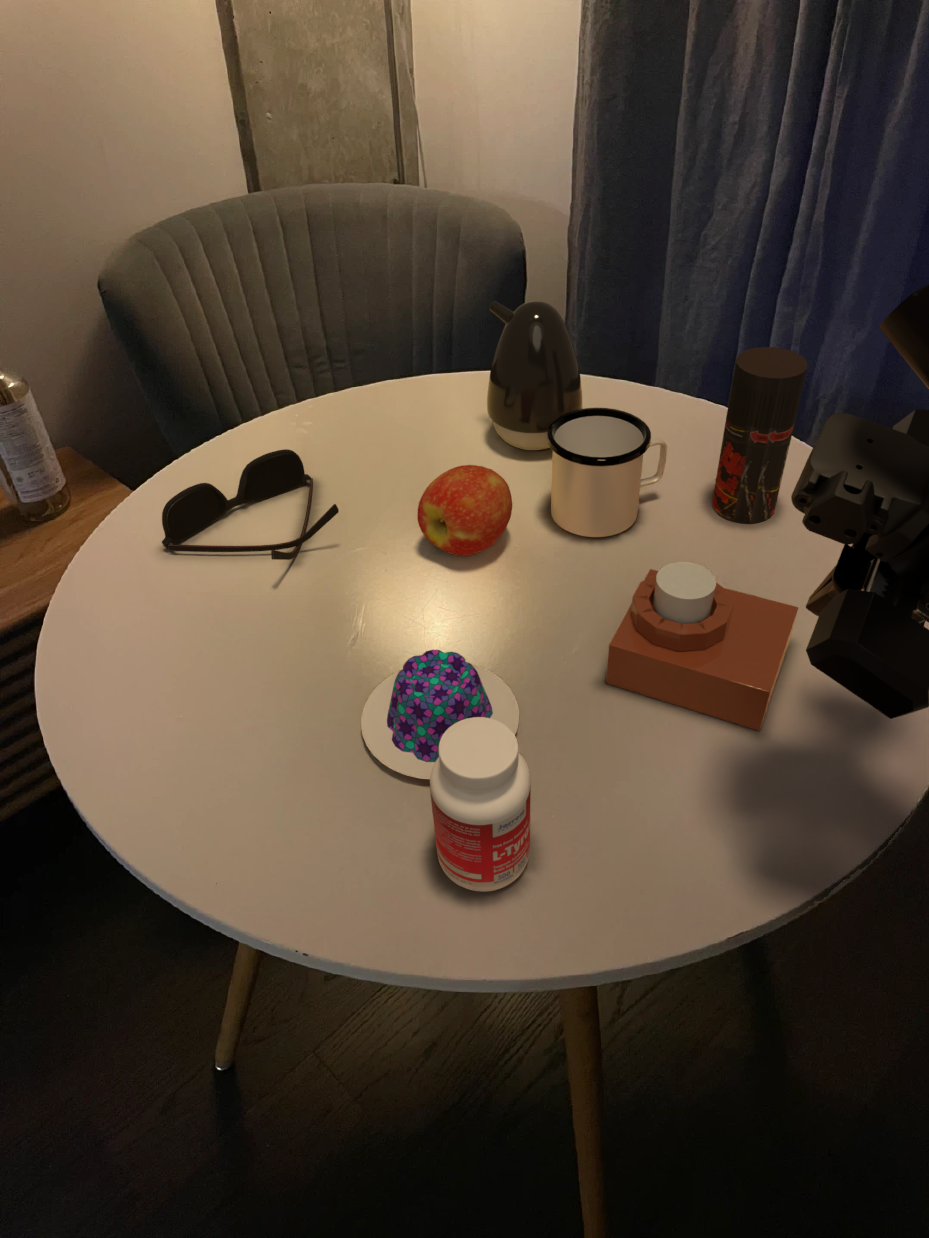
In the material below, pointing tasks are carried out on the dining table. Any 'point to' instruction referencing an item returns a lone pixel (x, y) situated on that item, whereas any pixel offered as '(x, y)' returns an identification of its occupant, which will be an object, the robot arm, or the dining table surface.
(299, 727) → the dining table surface
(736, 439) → the deodorant
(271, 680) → the dining table surface
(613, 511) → the mug
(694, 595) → the white cylinder
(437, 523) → the apple
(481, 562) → the dining table surface
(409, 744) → the pudding
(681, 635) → the button housing
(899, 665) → the robot arm
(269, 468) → the sunglasses
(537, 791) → the dining table surface
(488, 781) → the pill bottle
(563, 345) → the pump dispenser
